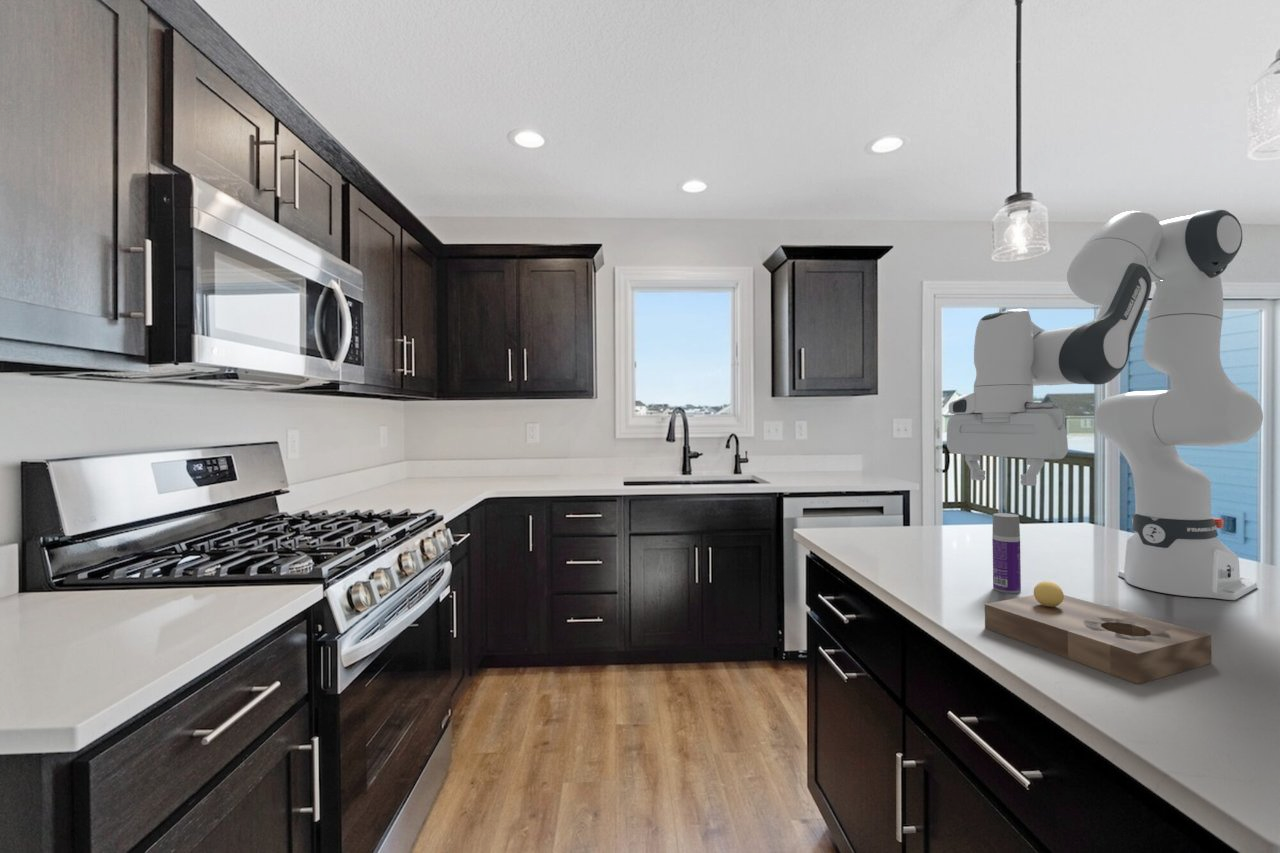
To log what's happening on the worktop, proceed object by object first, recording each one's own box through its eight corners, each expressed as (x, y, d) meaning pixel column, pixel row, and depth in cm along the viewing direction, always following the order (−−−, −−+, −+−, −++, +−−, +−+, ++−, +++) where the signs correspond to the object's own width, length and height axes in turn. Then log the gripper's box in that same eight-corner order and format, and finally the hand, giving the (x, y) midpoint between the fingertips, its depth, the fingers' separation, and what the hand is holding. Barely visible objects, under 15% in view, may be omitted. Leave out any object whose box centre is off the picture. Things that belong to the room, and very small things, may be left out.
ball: (1044, 601, 97) (1044, 577, 97) (1069, 608, 93) (1069, 583, 93) (1027, 604, 95) (1027, 580, 95) (1052, 611, 92) (1052, 586, 92)
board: (1052, 614, 102) (1051, 591, 102) (1211, 663, 81) (1211, 634, 81) (985, 628, 96) (984, 604, 96) (1138, 684, 76) (1137, 653, 76)
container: (1025, 594, 113) (1024, 517, 113) (998, 593, 114) (997, 516, 114) (1014, 587, 118) (1013, 513, 118) (989, 586, 119) (988, 512, 119)
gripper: (1077, 401, 93) (1077, 488, 93) (965, 405, 112) (965, 477, 112) (1050, 400, 90) (1049, 489, 90) (940, 404, 110) (940, 478, 110)
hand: (1002, 482), depth 101 cm, fingers open, 8 cm apart
